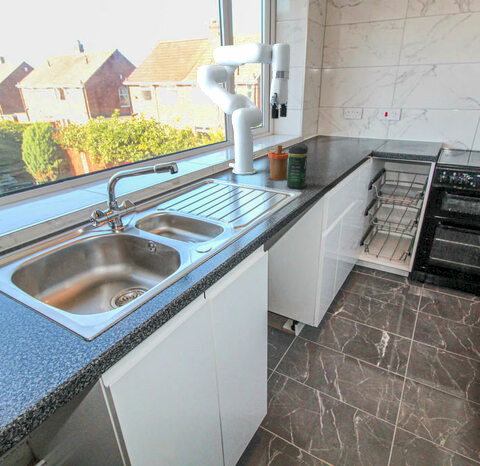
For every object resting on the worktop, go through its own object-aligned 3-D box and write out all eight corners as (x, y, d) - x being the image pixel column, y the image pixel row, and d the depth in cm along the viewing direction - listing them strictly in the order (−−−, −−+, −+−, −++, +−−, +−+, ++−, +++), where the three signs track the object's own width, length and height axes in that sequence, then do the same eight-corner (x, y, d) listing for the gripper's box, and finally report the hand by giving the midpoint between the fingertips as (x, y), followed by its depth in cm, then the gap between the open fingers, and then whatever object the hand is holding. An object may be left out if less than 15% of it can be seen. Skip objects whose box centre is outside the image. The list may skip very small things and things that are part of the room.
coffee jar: (302, 190, 142) (305, 146, 135) (285, 188, 145) (286, 145, 137) (307, 184, 150) (309, 142, 143) (290, 183, 153) (292, 142, 145)
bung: (265, 158, 154) (265, 154, 153) (272, 154, 162) (272, 151, 161) (285, 159, 150) (285, 156, 150) (291, 155, 158) (291, 152, 158)
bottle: (267, 179, 159) (267, 145, 153) (273, 175, 166) (274, 143, 160) (283, 181, 156) (284, 146, 149) (289, 177, 163) (290, 144, 156)
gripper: (280, 76, 151) (278, 116, 158) (264, 75, 137) (263, 118, 144) (295, 76, 148) (293, 116, 155) (280, 75, 134) (279, 119, 141)
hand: (279, 117), depth 150 cm, fingers open, 9 cm apart
